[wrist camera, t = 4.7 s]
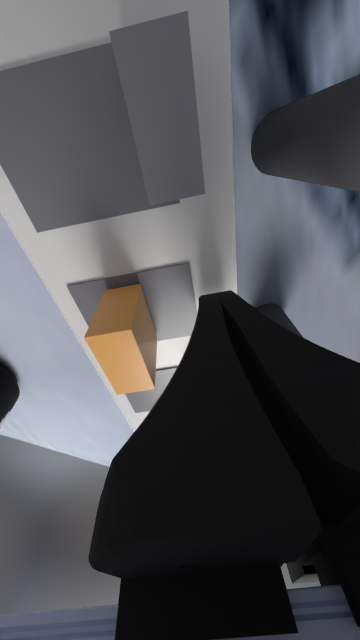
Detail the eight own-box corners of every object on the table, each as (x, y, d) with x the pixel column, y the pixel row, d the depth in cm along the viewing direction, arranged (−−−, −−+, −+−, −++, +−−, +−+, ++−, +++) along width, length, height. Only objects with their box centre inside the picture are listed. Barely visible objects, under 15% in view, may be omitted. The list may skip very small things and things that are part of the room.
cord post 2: (309, 101, 9) (461, 44, 5) (301, 169, 11) (410, 180, 6) (251, 114, 10) (340, 72, 5) (251, 179, 11) (318, 198, 6)
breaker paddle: (140, 283, 9) (131, 329, 7) (157, 337, 11) (154, 389, 9) (105, 290, 9) (83, 337, 7) (127, 342, 11) (117, 394, 9)
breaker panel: (194, -84, 7) (266, -675, 2) (228, 377, 20) (248, 449, 15) (-48, -14, 7) (-469, -344, 2) (140, 391, 20) (132, 464, 15)
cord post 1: (284, 301, 15) (339, 368, 10) (281, 327, 17) (328, 398, 12) (249, 307, 15) (287, 376, 11) (249, 333, 17) (282, 404, 12)
